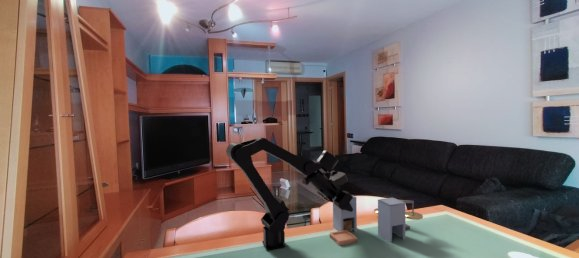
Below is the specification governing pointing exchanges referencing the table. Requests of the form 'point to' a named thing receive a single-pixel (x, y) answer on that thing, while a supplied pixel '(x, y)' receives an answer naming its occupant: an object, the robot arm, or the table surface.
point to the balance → (408, 213)
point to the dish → (343, 237)
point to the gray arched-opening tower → (391, 218)
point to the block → (347, 224)
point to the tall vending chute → (344, 215)
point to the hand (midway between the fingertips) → (347, 207)
